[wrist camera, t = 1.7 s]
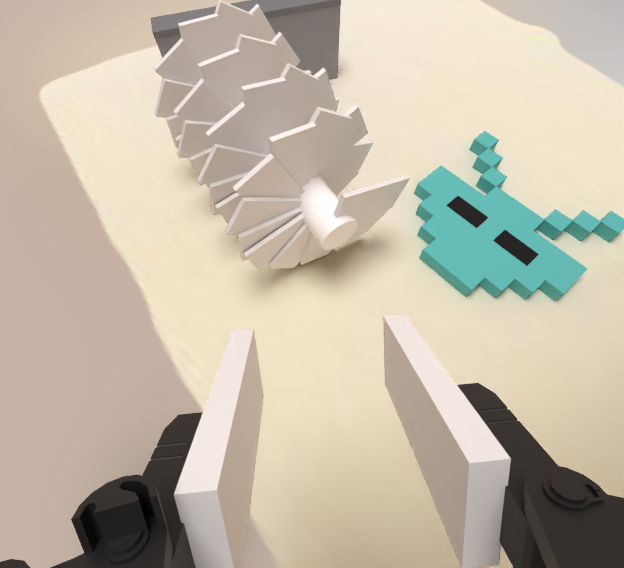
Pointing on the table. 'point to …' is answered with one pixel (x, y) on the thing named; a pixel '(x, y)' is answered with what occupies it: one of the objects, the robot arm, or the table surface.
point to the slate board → (278, 29)
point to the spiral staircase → (267, 139)
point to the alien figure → (498, 233)
